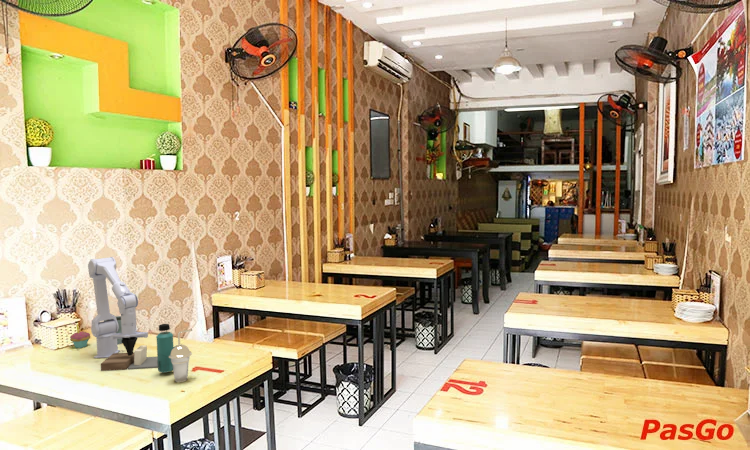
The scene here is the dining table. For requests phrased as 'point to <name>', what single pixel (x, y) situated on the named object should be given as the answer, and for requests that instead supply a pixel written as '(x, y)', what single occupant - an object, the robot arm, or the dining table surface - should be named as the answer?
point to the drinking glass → (118, 328)
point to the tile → (140, 355)
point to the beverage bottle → (164, 348)
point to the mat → (146, 364)
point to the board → (117, 362)
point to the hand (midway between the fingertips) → (130, 354)
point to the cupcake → (80, 338)
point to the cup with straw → (180, 360)
